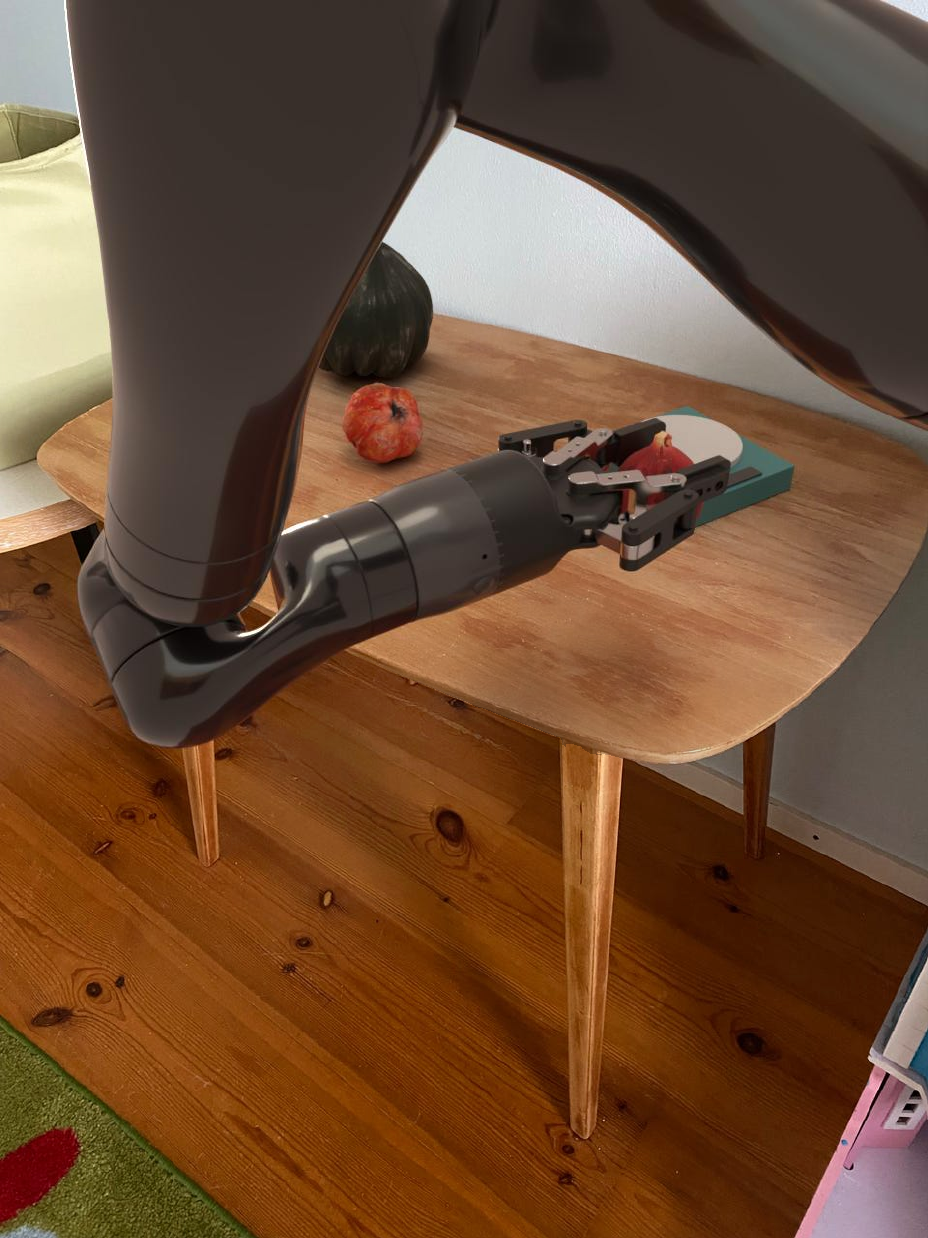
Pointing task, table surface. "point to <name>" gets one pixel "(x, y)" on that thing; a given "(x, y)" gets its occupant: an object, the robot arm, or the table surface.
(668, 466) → the onion
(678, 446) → the scale
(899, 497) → the table surface
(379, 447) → the pomegranate
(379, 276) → the squash
